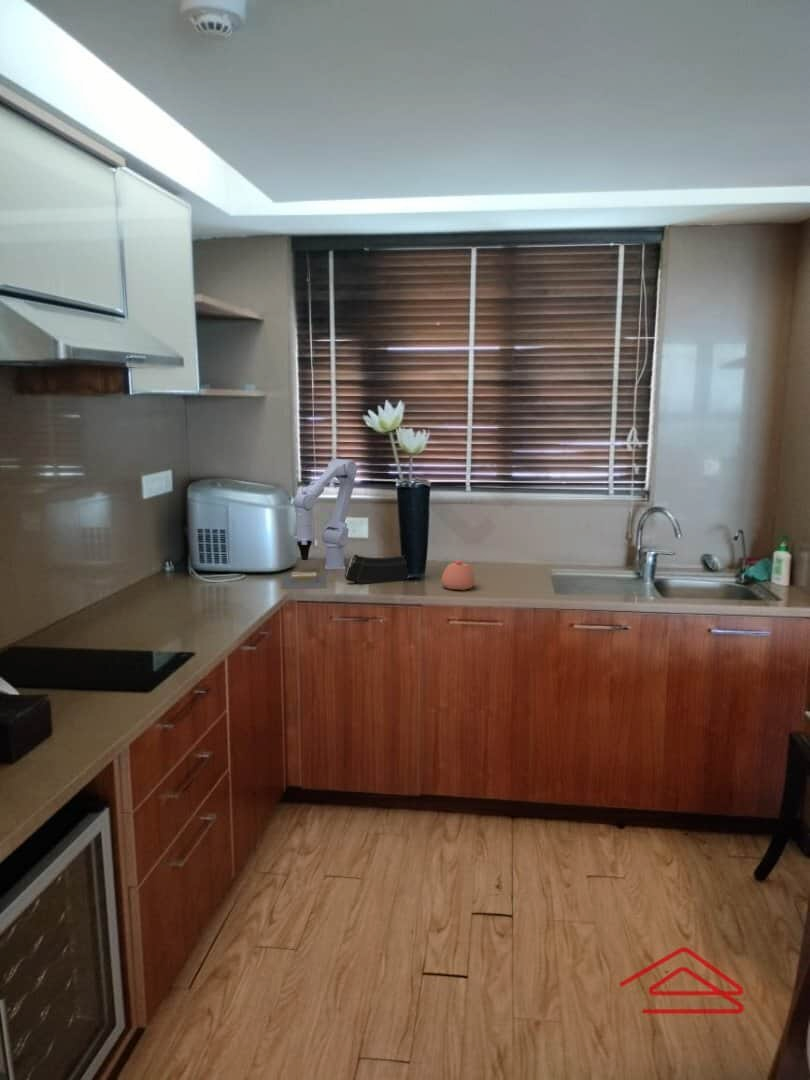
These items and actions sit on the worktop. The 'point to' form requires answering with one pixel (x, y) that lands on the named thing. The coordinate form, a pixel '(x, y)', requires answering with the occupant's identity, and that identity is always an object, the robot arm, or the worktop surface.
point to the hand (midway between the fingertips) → (304, 559)
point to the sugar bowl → (458, 576)
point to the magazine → (376, 569)
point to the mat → (289, 585)
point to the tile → (303, 577)
